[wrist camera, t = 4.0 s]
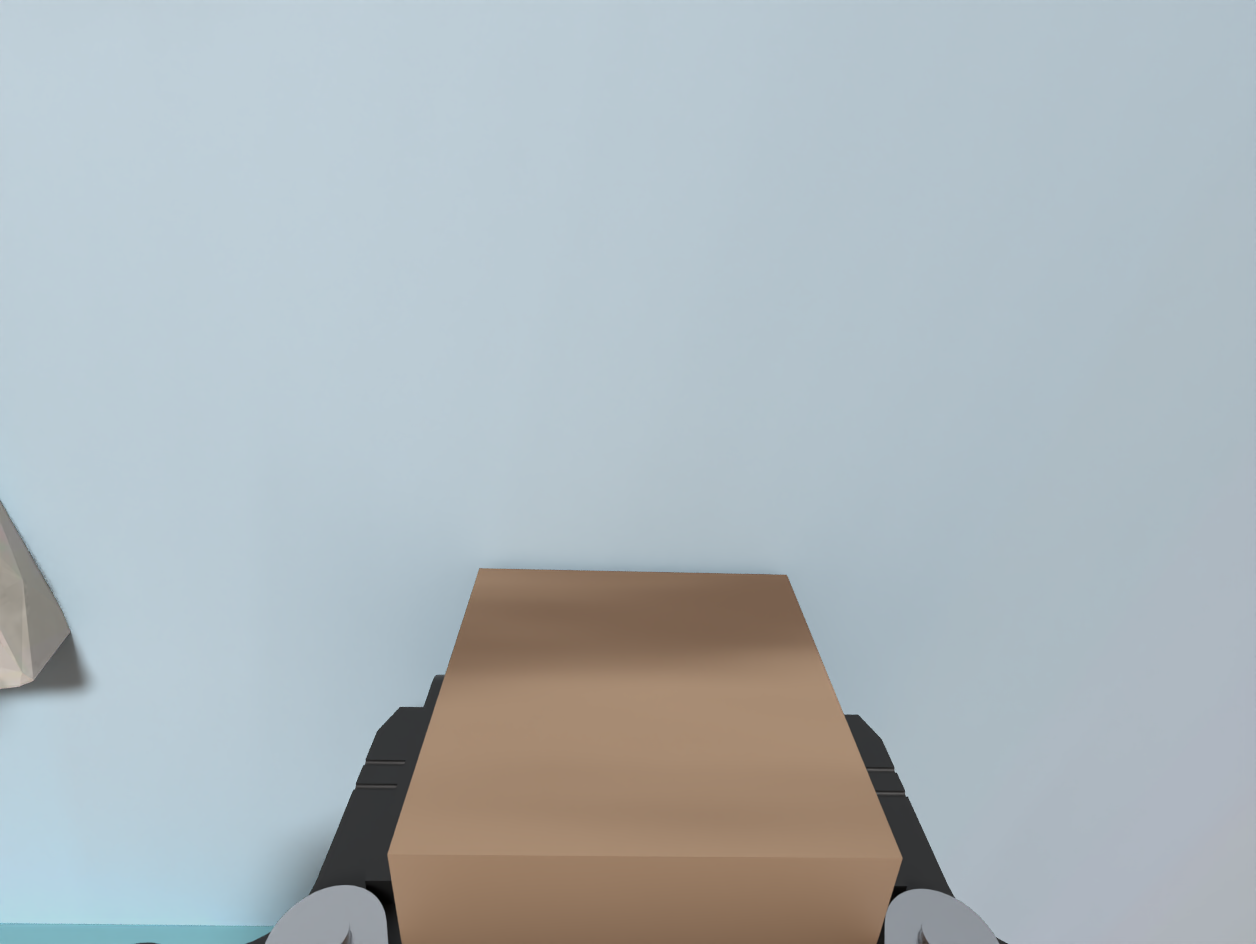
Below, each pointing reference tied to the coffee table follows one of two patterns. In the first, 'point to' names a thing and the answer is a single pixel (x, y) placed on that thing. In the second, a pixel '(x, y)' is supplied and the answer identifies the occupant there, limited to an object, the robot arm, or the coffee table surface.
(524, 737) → the walnut block
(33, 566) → the packaged product
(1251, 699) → the coffee table surface
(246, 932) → the teal base block
